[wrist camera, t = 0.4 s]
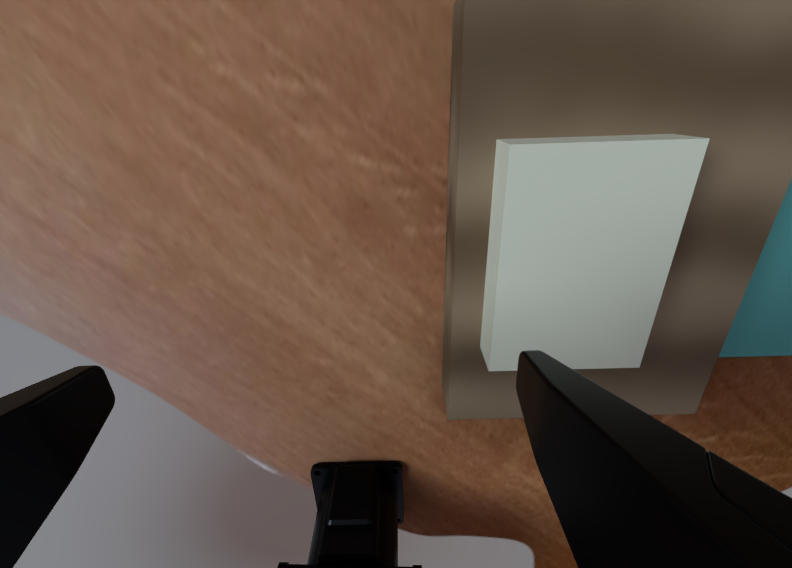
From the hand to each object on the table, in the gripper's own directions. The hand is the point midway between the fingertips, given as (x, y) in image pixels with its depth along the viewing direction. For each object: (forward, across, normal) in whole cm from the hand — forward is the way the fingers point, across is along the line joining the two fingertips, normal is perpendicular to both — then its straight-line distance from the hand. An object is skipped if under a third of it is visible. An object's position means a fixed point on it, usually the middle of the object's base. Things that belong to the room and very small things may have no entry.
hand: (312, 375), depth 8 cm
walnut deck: (+13, -12, +1) cm, 17 cm away
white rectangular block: (+10, -10, +1) cm, 14 cm away
